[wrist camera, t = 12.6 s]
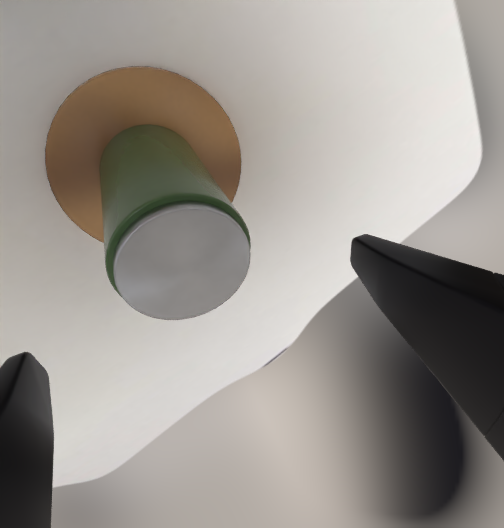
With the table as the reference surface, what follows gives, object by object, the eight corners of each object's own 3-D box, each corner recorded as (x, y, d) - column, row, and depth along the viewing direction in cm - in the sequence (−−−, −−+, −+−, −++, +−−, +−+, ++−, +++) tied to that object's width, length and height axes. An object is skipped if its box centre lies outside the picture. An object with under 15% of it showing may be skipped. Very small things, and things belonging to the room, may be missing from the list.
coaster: (249, 221, 21) (251, 224, 20) (96, 269, 19) (97, 273, 18) (222, 47, 15) (225, 47, 15) (-1, 92, 13) (-3, 93, 13)
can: (185, 113, 15) (246, 181, 10) (206, 202, 18) (263, 296, 12) (81, 138, 15) (76, 230, 9) (121, 227, 17) (138, 343, 12)
